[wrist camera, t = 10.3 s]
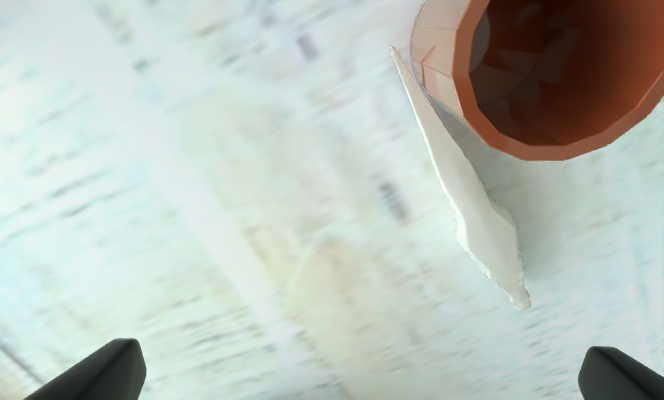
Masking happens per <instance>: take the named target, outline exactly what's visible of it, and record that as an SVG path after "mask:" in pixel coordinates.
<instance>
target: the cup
mask: <svg viewBox="0 0 664 400" xmlns="http://www.w3.org/2000/svg"><path fill="white" fill-rule="evenodd" d="M410 54H411V62H412V66H413V70H414V73H415V75H416V78H417V80H418V82H419V83H420V85H421V87H422V88H423V89H424V90H425V92H426V93H427V94H428V95H429V96H430V97H431V98H432V99H433V100H434V101H435V102H436V103H437V104H438V105H439V106H440V107H442V108H443V109H444V110H445V111H446V112H448V113H449V114H450V115H451V116H452V117H454V118H455V119H456V120H457V121H459V122H460V123H461V124H462V125H463V126H465V127H466V128H467V129H468V130H469V131H471V132H472V133H473V134H474V135H475V136H477V137H478V138H479V139H480V140H481V141H483V142H484V143H485V144H486V145H488V146H489V147H491V148H493V149H496V150H498V151H501V152H503V153H505V154H508V155H510V156H513V157H515V158H518V159H520V160H524V161H564V160H568V159H571V158H574V157H577V156H580V155H582V154H585V153H588V152H591V151H594V150H596V149H599V148H602V147H605V146H607V145H608V144H611V143H612V142H613V141H615V140H616V139H618V138H619V137H620V136H622V135H623V134H624V133H626V132H627V131H628V130H630V129H631V128H632V127H634V126H635V125H636V124H638V123H639V122H640V121H642V120H643V119H645V118H646V117H647V115H649V114H650V113H651V112H652V110H653V109H654V108H655V106H656V105H657V104H658V102H659V101H660V100H661V98H662V97H663V96H664V0H426V1H425V2H424V4H423V5H422V7H421V9H420V11H419V13H418V15H417V18H416V21H415V23H414V27H413V31H412V36H411V44H410Z"/></svg>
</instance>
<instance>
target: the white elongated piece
mask: <svg viewBox="0 0 664 400" xmlns="http://www.w3.org/2000/svg"><path fill="white" fill-rule="evenodd" d="M390 52H391V54H392V57H393V59H394V61H395V63H396V66H397V68H398V71H399V73H400V76H401V79H402V81H403V84H404V87H405V89H406V92H407V94H408V97H409V100H410V102H411V105H412V108H413V111H414V114H415V116H416V119H417V122H418V124H419V127H420V129H421V132H422V134H423V136H424V139H425V141H426V144H427V147H428V150H429V154H430V157H431V160H432V162H433V165H434V168H435V170H436V173H437V175H438V178H439V180H440V182H441V185H442V187H443V189H444V191H445V194H446V195H447V197H448V199H449V201H450V202H451V204H452V206H453V208H454V209H455V211H456V216H455V234H456V237H457V238H458V240H459V241H460V243H461V244H462V246H463V248H464V250H465V252H466V254H468V255H469V256H470V257H471V258H472V259H474V260H475V261H476V262H477V263H478V264H479V265H480V266H481V268H482V269H483V271H484V273H485V275H486V277H488V278H490V279H492V280H494V281H495V282H496V283H497V284H498V285H499V286H500V287H502V288H503V289H504V290H505V291H506V293H507V294H508V298H509V300H510V301H511V302H512V303H513V304H514V305H515V306H516V307H517V308H518V309H519V310H524V309H527V308H529V307H530V306H531V302H530V299H529V298H530V296H529V293H528V291H527V290H526V289H525V287H524V282H525V281H524V274H523V262H524V260H523V258H522V256H521V255H520V253H519V246H518V229H517V228H516V226H515V224H514V222H513V219H512V216H511V214H510V213H509V212H508V211H507V210H506V209H505V208H503V207H502V206H501V205H499V204H498V203H496V202H495V201H494V200H491V199H489V196H488V194H487V192H486V190H485V188H484V186H483V184H482V182H481V180H480V178H479V176H478V175H477V173H476V171H475V170H474V168H473V166H472V165H471V163H470V161H469V160H468V158H467V157H466V156H465V154H464V152H463V151H462V149H461V148H460V146H459V145H458V143H457V142H456V141H455V139H454V138H453V137H452V135H451V134H450V132H449V131H448V130H447V128H446V127H445V125H444V124H443V122H442V120H441V119H440V117H439V115H438V113H437V112H436V111H435V109H434V108H433V106H432V105H431V104H430V102H429V101H428V100H427V98H426V97H425V95H424V93H423V92H422V90H421V89H420V87H419V86H418V84H417V82H416V81H415V79H414V78H413V76H412V75H411V73H410V72H409V70H408V68H407V67H406V65H405V64H404V62H403V61H402V59H401V57H400V55H399V54H398V52H397V50H396V48H395V47H393V46H391V47H390Z"/></svg>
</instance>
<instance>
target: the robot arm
mask: <svg viewBox="0 0 664 400" xmlns="http://www.w3.org/2000/svg"><path fill="white" fill-rule="evenodd" d="M145 378H146V365H145V361H144V358H143V354H142V351H141V347H140V344H139V342H138V341H137V340H136V339H133V338H118V339H114V340H112V341H111V342H109V343H108V344H106V345H105V346H103V347H101V348H100V349H98V350H97V351H95V352H94V353H92V354H91V355H89V356H88V357H86V358H85V359H83V360H82V361H80V362H79V363H77V364H76V365H74V366H73V367H71V368H70V369H68V370H67V371H65V372H64V373H62V374H61V375H59V376H58V377H56V378H55V379H53V380H52V381H50V382H49V383H47V384H46V385H44V386H43V387H41V388H40V389H38V390H37V391H35V392H34V393H32V394H31V395H29V396H28V397H26V398H25V399H23V400H138V397H139V395H140V392H141V389H142V387H143V384H144V381H145ZM578 383H579V388H580V390H581V393H582V395H583V398H584V400H664V377H662V376H661V375H659V374H658V373H656V372H654V371H653V370H651V369H649V368H648V367H646V366H645V365H643V364H641V363H640V362H638V361H636V360H635V359H633V358H631V357H630V356H628V355H627V354H625V353H623V352H622V351H620V350H618V349H617V348H614V347H604V346H593V347H591V348H589V349H588V351H587V353H586V356H585V359H584V361H583V364H582V367H581V370H580V373H579V376H578Z"/></svg>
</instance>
